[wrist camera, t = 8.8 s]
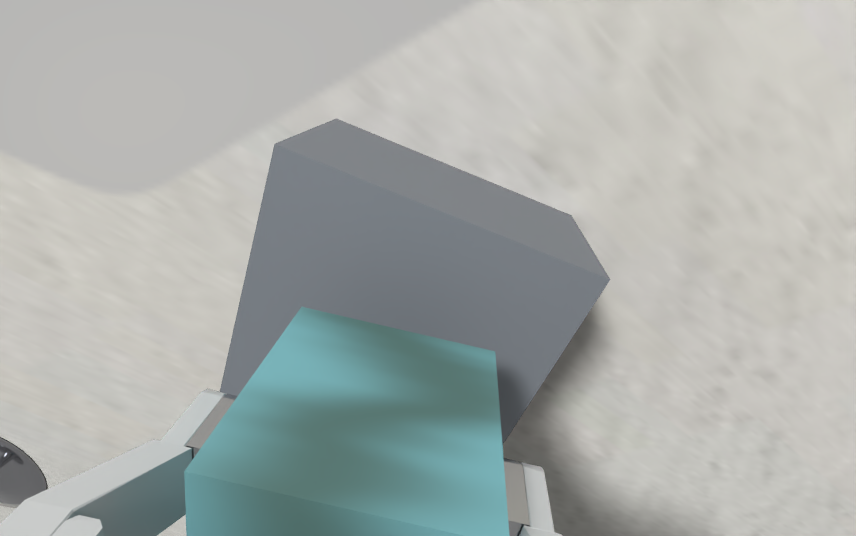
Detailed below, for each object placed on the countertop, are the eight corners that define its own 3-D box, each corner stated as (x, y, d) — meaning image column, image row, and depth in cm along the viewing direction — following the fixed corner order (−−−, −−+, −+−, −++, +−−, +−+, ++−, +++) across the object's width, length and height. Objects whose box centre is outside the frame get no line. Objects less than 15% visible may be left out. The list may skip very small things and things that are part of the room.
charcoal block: (570, 213, 18) (609, 279, 13) (471, 389, 22) (469, 495, 17) (338, 117, 17) (274, 143, 12) (282, 318, 22) (217, 404, 16)
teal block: (495, 351, 11) (510, 545, 7) (450, 485, 13) (438, 702, 9) (301, 306, 11) (184, 471, 7) (287, 447, 13) (190, 646, 9)
